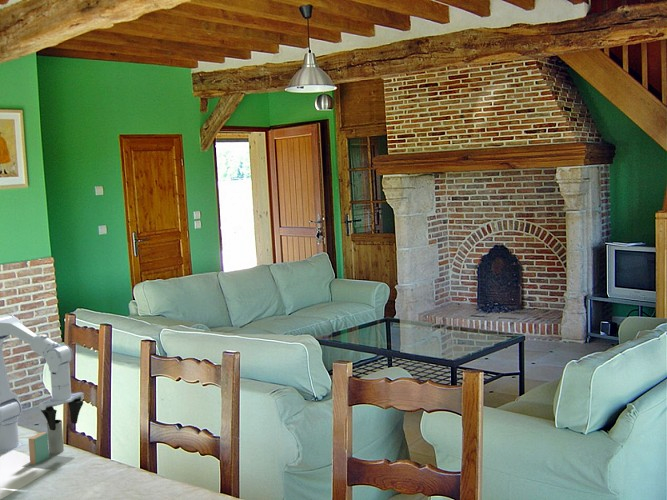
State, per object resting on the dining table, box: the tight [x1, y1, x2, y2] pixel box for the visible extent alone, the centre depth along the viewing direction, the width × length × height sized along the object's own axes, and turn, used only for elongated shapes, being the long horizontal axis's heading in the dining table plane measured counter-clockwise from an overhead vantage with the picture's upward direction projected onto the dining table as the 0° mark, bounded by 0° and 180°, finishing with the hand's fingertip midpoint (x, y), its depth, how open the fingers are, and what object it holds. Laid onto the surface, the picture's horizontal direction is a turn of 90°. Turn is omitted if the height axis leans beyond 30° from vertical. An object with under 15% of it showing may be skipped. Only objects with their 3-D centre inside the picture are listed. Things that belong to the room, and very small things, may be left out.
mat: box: [21, 454, 76, 471], centre depth 230 cm, size 12×10×1 cm
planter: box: [46, 419, 65, 455], centre depth 239 cm, size 4×4×10 cm
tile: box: [28, 431, 50, 464], centre depth 231 cm, size 2×6×8 cm, turn 163°
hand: (63, 426), depth 235 cm, fingers open, 7 cm apart
